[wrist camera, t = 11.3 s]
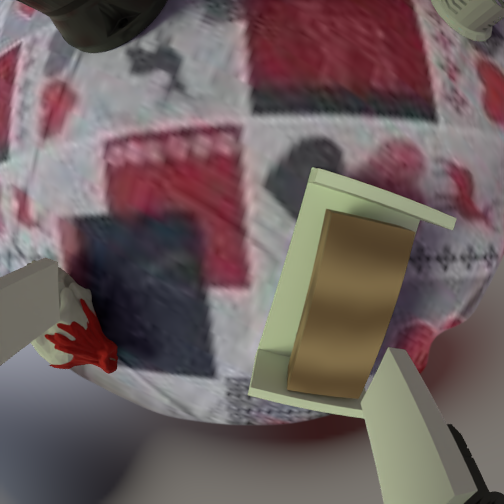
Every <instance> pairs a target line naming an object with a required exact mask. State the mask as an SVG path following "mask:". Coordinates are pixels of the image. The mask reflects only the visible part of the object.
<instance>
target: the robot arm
mask: <svg viewBox="0 0 504 504" xmlns="http://www.w3.org/2000/svg"><path fill="white" fill-rule="evenodd" d="M17 1H19V2H21V3H23V4H25V5H28V6H30V7H32V8H34V9H36V10H38V11H40V12H42V13H44V14H46V15H47V16H49V17H50V19H51V20H52V22H53V23H54V25H55V26H56V28H57V29H58V30H59V32H60V33H61V35H62V37H63V38H64V40H65V41H66V42H67V43H68V44H70V45H71V46H73V47H75V48H77V49H79V50H81V51H83V52H88V53H98V52H103V51H107V50H110V49H113V48H115V47H118V46H120V45H122V44H124V43H126V42H127V41H129V40H130V39H132V38H133V37H135V36H136V35H138V34H139V33H140V32H141V31H143V30H144V29H145V28H146V27H147V26H148V25H149V24H150V23H151V22H152V21H153V20H154V19H155V18H156V17H157V15H158V14H159V13H160V11H161V10H162V8H163V7H164V5H165V3H166V1H167V0H17ZM59 321H60V310H59V292H58V262H56V261H53V260H51V259H48V258H43V259H41V260H39V261H36V262H34V263H32V264H29V265H27V266H25V267H23V268H20V269H18V270H16V271H14V272H11V273H9V274H7V275H5V276H3V277H0V366H1V365H2V364H3V363H5V362H6V361H7V360H8V359H10V358H11V357H12V356H13V355H15V354H16V353H17V352H19V351H20V350H21V349H23V348H24V347H25V346H27V345H28V344H29V343H31V342H32V341H33V340H35V339H36V338H37V337H39V336H40V335H41V334H43V333H44V332H45V331H47V330H48V329H49V328H51V327H52V326H53V325H55V324H56V323H58V322H59ZM361 407H362V410H363V414H364V418H365V422H366V426H367V430H368V434H369V438H370V442H371V447H372V451H373V455H374V459H375V464H376V468H377V473H378V477H379V482H380V487H381V492H382V497H383V502H384V504H504V495H503V494H502V493H499V492H489V490H488V488H487V486H486V484H485V482H484V480H483V477H482V475H481V473H480V471H479V469H478V467H477V465H476V463H475V461H474V459H473V458H471V456H472V455H471V453H470V451H469V449H468V448H467V445H466V443H465V441H464V439H463V437H462V435H461V434H460V433H459V432H458V431H457V430H456V429H455V428H454V427H453V426H452V424H446V422H445V420H444V418H443V416H442V414H441V412H440V410H439V408H438V407H437V405H436V403H435V401H434V399H433V397H432V395H431V394H430V392H429V390H428V388H427V387H426V385H425V383H424V381H423V379H422V378H421V376H420V374H419V372H418V370H417V369H416V367H415V365H414V364H413V362H412V360H411V358H410V357H409V355H408V353H407V352H406V350H404V349H397V348H391V347H388V349H387V351H386V353H385V355H384V357H383V359H382V362H381V364H380V366H379V368H378V370H377V372H376V374H375V376H374V378H373V380H372V382H371V384H370V386H369V388H368V390H367V392H366V394H365V395H364V397H363V399H362V401H361Z"/></svg>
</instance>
